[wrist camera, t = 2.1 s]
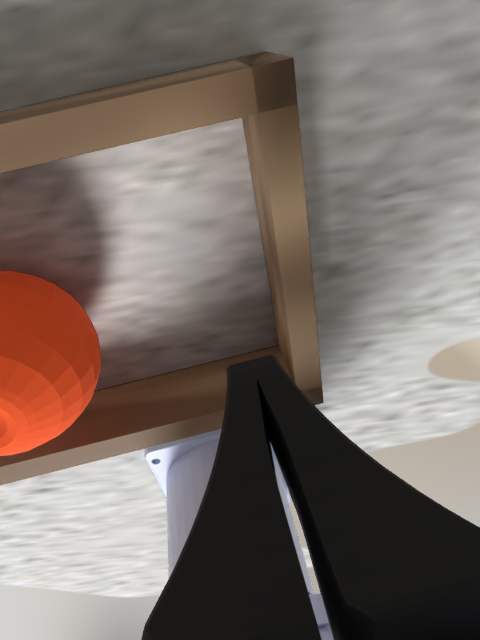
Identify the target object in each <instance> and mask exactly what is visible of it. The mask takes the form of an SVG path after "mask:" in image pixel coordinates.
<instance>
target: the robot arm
mask: <svg viewBox="0 0 480 640" xmlns="http://www.w3.org/2000/svg"><path fill="white" fill-rule="evenodd" d="M226 370H227V394H226V404H225V411H224V417H223V424H222V429H219V430H215V431H211V432H207V433H203V434H199V435H195V436H191V437H188V438H184V439H180V440H176V441H172V442H168V443H164V444H160V445H156V446H152V447H149V448H147V449H146V451H145V458H146V460H147V462H148V464H149V466H150V468H151V470H152V472H153V474H154V476H155V478H156V480H157V482H158V484H159V485H160V487H161V489H162V491H163V493H164V495H165V497H166V499H167V533H168V570H169V580H168V582H167V584H166V585H165V587H164V589H163V591H162V593H161V595H160V597H159V599H158V601H157V603H156V605H155V607H154V609H153V611H152V613H151V614H150V616H149V618H148V620H147V622H146V624H145V627H144V631H143V636H142V640H480V527H478V526H476V525H474V524H473V523H471V522H469V521H467V520H465V519H463V518H462V517H460V516H458V515H457V514H455V513H453V512H452V511H450V510H448V509H447V508H445V507H443V506H442V505H440V504H438V503H437V502H435V501H434V500H432V499H430V498H429V497H427V496H426V495H424V494H423V493H421V492H419V491H418V490H416V489H415V488H414V487H412V486H411V485H409V484H408V483H406V482H405V481H404V480H402V479H400V478H399V477H398V476H396V475H395V474H393V473H392V472H391V471H389V470H388V469H386V468H385V467H384V466H382V465H381V464H379V463H378V462H377V461H376V460H374V459H373V458H372V457H371V456H369V455H368V454H367V453H365V452H364V451H363V450H362V449H361V448H359V447H358V446H357V445H356V444H355V443H353V442H352V441H351V440H350V439H349V438H348V437H347V436H345V435H344V434H343V433H342V432H341V431H340V430H339V429H338V428H337V427H336V426H335V425H333V424H332V423H331V422H330V421H329V420H328V419H327V418H326V417H325V416H324V415H323V414H322V413H321V412H320V411H319V410H318V409H317V408H316V407H315V405H314V404H313V403H312V402H311V401H310V400H309V399H308V398H307V397H306V396H305V395H304V393H303V392H302V391H301V390H300V389H299V388H298V387H297V385H296V384H295V383H294V382H293V380H292V379H291V378H290V377H289V375H288V374H287V373H286V371H285V370H284V368H283V367H282V365H281V364H280V362H279V361H278V359H277V357H276V356H274V355H268V356H264V357H260V358H256V359H252V360H248V361H244V362H240V363H236V364H232V365H229V366H228V368H227V369H226ZM289 493H290V494H289ZM290 495H291V498H292V500H293V503H294V506H295V508H296V511H297V514H298V517H299V520H300V523H301V526H302V529H303V532H304V536H305V539H306V542H307V546H308V550H309V553H310V557H311V560H312V564H313V567H314V571H315V575H316V578H317V581H318V585H319V588H320V592H321V593H320V594H314V590H313V587H312V584H311V580H310V576H309V573H308V569H307V566H306V562H305V558H304V555H303V551H302V548H301V544H300V541H299V537H298V534H297V530H296V527H295V523H294V520H293V516H292V513H291V509H290V506H289V504H290V502H291V500H290Z"/></svg>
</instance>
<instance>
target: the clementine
mask: <svg viewBox="0 0 480 640" xmlns="http://www.w3.org/2000/svg"><path fill="white" fill-rule="evenodd" d="M100 369H101V355H100V346H99V339H98V334H97V332H96V330H95V328H94V326H93V324H92V322H91V320H90V318H89V317H88V315H87V313H86V312H85V310H84V309H83V308H82V307H81V305H80V304H79V303H78V302H77V301H76V300H75V299H74V298H73V297H72V296H71V295H70V294H68V293H67V292H66V291H64V290H63V289H61V288H60V287H58V286H57V285H56V284H54V283H51V282H49V281H47V280H44V279H42V278H39V277H37V276H35V275H30V274H25V273H20V272H15V271H0V456H7V455H14V454H18V453H22V452H26V451H29V450H31V449H34V448H36V447H38V446H40V445H42V444H44V443H46V442H48V441H49V440H51V439H53V438H55V437H57V436H59V435H60V434H61V433H62V432H64V431H65V430H66V429H67V428H68V427H70V426H71V425H72V424H73V423H74V421H75V420H76V419H77V418H78V417H79V416H80V415H81V413H82V412H83V411H84V409H85V408H86V406H87V405H88V403H89V402H90V400H91V398H92V396H93V394H94V391H95V388H96V385H97V383H98V378H99V374H100Z"/></svg>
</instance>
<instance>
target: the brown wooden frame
mask: <svg viewBox="0 0 480 640" xmlns="http://www.w3.org/2000/svg"><path fill="white" fill-rule="evenodd" d="M241 117H242V119H243V125H244V132H245V138H246V144H247V150H248V156H249V163H250V169H251V175H252V181H253V188H254V194H255V200H256V206H257V212H258V219H259V225H260V231H261V237H262V244H263V250H264V256H265V262H266V268H267V275H268V281H269V287H270V293H271V300H272V306H273V312H274V318H275V325H276V331H277V337H278V343H279V346H275V347H271V348H267V349H263V350H259V351H255V352H251V353H247V354H243V355H239V356H235V357H231V358H227V359H223V360H219V361H215V362H211V363H207V364H203V365H199V366H195V367H191V368H187V369H183V370H179V371H175V372H171V373H167V374H163V375H159V376H155V377H151V378H147V379H143V380H139V381H135V382H131V383H127V384H123V385H119V386H115V387H111V388H107V389H103V390H99V391H95V392H94V394H93V396H92V398H91V400H90V402H89V403H88V405H87V406H86V408H85V409H84V411H83V412H82V413H81V415H80V416H79V417H78V418H77V419H76V420H75V421H74V423H73V424H72V425H71V426H70V427H68V428H67V429H66V430H65V431H64V432H62V433H61V434H60V435H59V436H57V437H55V438H53V439H51V440H49V441H48V442H46V443H44V444H42V445H40V446H38V447H36V448H34V449H31V450H29V451H26V452H22V453H18V454H14V455H7V456H0V485H3V484H7V483H11V482H15V481H19V480H23V479H27V478H31V477H34V476H38V475H42V474H46V473H50V472H54V471H58V470H62V469H66V468H70V467H74V466H78V465H82V464H85V463H89V462H93V461H97V460H101V459H105V458H109V457H113V456H117V455H121V454H125V453H129V452H133V451H136V450H140V449H144V448H148V447H152V446H156V445H160V444H164V443H168V442H172V441H176V440H180V439H184V438H188V437H191V436H195V435H199V434H203V433H207V432H211V431H215V430H219V429H222V424H223V417H224V411H225V404H226V394H227V370H226V369H227V368H228V366H229V365H232V364H236V363H240V362H244V361H248V360H252V359H256V358H260V357H264V356H268V355H274V356H276V357H277V359H278V361H279V362H280V364H281V365H282V367H283V368H284V370H285V371H286V373H287V374H288V375H289V377H290V378H291V379H292V380H293V382H294V383H295V384H296V385H297V387H298V388H299V389H300V390H301V391H302V392H303V393H304V395H305V396H306V397H307V398H308V399H309V400H310V401H311V402H312V403H313V404H314V405H317V404H321V403H323V393H322V381H321V370H320V358H319V347H318V335H317V324H316V312H315V301H314V289H313V278H312V266H311V255H310V244H309V232H308V221H307V209H306V198H305V186H304V175H303V163H302V152H301V140H300V129H299V117H298V106H297V94H296V83H295V72H294V60H293V58H292V57H287V56H283V55H279V54H274V53H270V52H263V53H258V54H254V55H249V56H245V57H241V58H236V59H232V60H227V61H223V62H219V63H214V64H210V65H205V66H201V67H196V68H192V69H188V70H183V71H179V72H174V73H170V74H166V75H161V76H157V77H152V78H148V79H143V80H139V81H135V82H130V83H126V84H121V85H117V86H113V87H108V88H104V89H99V90H95V91H90V92H86V93H82V94H77V95H73V96H68V97H64V98H60V99H55V100H51V101H46V102H42V103H37V104H33V105H29V106H24V107H20V108H15V109H11V110H7V111H2V112H0V173H3V172H7V171H12V170H16V169H20V168H25V167H29V166H33V165H38V164H42V163H46V162H51V161H55V160H59V159H64V158H68V157H72V156H77V155H81V154H85V153H90V152H94V151H98V150H103V149H107V148H111V147H116V146H120V145H124V144H129V143H133V142H137V141H142V140H146V139H150V138H155V137H159V136H163V135H168V134H172V133H176V132H181V131H185V130H189V129H194V128H198V127H202V126H207V125H211V124H215V123H220V122H224V121H228V120H233V119H237V118H241Z"/></svg>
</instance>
